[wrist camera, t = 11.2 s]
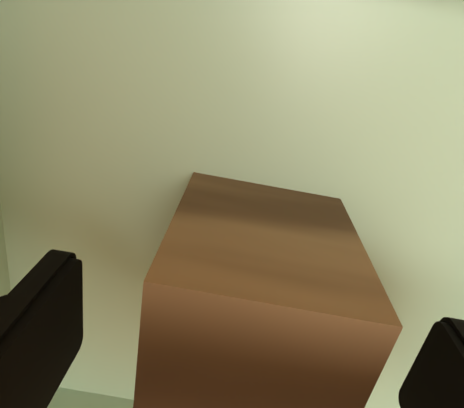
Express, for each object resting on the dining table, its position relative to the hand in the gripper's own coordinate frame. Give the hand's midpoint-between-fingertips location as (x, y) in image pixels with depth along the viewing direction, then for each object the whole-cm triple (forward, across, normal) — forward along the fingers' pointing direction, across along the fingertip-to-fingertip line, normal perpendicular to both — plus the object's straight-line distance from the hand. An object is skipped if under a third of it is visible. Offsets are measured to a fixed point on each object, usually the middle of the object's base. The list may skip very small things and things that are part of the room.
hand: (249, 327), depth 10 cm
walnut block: (+4, 0, 0) cm, 4 cm away
